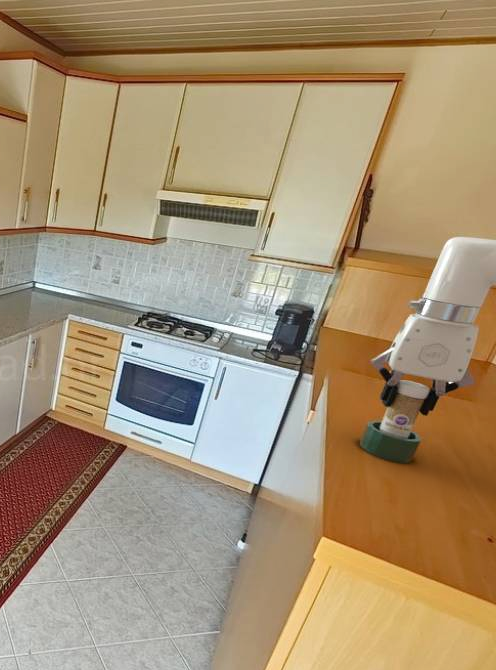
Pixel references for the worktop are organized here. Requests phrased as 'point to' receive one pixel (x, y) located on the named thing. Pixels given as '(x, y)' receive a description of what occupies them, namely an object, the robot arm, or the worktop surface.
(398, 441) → the holder
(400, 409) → the sprinkles bottle
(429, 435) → the worktop surface
